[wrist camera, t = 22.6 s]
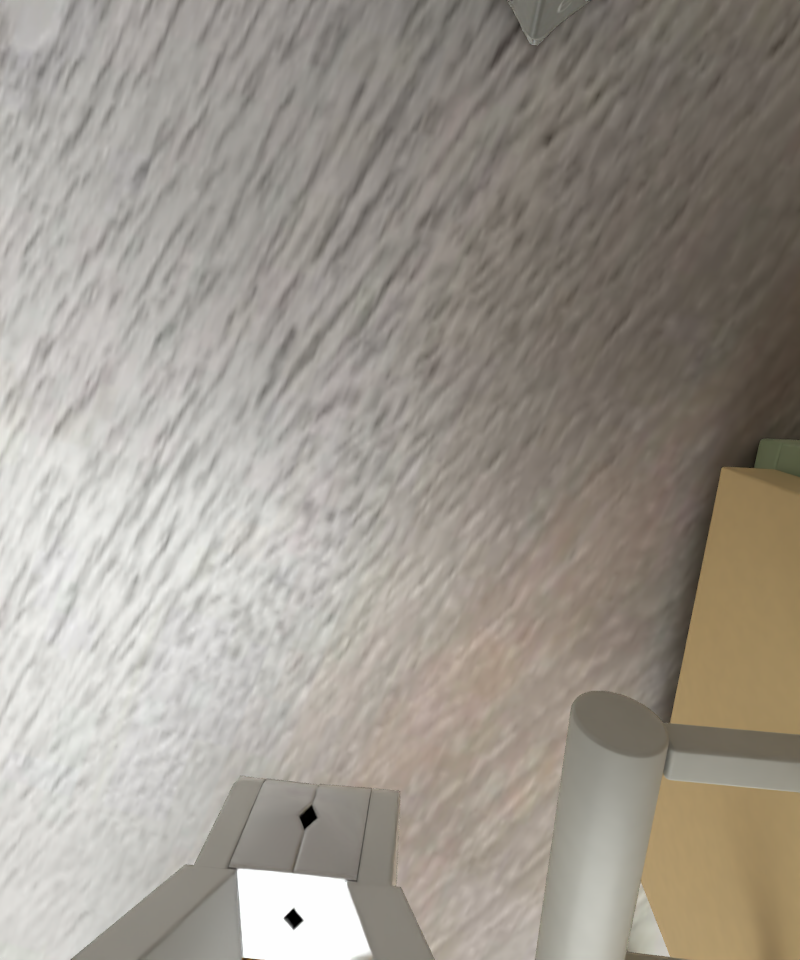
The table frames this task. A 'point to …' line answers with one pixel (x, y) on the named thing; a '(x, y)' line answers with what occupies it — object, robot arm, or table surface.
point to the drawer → (696, 766)
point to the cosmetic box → (543, 15)
